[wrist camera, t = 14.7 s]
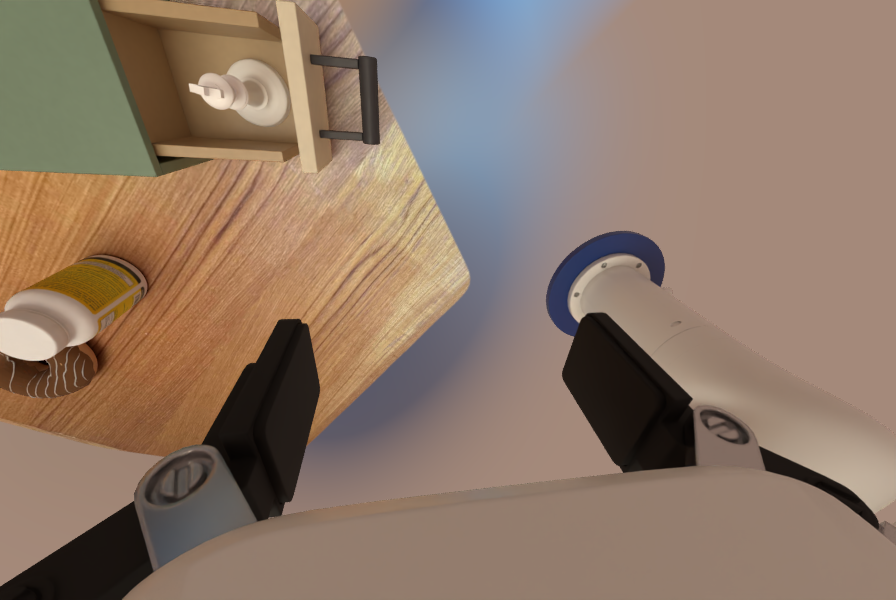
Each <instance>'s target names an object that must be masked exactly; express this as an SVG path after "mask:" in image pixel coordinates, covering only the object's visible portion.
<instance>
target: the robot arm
mask: <svg viewBox="0 0 896 600" xmlns="http://www.w3.org/2000/svg"><path fill="white" fill-rule="evenodd" d="M672 293H673V292H672V289H671V288H661V287H659V286H658V285H656V284H655V283H653V282H652V281H650V272H649V269H648V267H647V265H646V264H645V263H644V262H643V261H642V260H640V259H639V258H637V257H635V256H633V255H631V254H626V253H616V254H610V255H607V256H604V257H602V258H600V259H598V260H596V261H594V262H593V263H591V264H590V265H588V266H587V267H586V268H585V269H584V270H583V271H582V272H581V273H580V274H579V275H578V276H577V277H576V279H575V280H574V282H573V284H572V285H571V288H570V290H569V293H568V299H567V302H568V309H569V312H570V313H571V315H572V316H573V318H574V319H575V320H576V321H577V322H579V326H578V329H577V332H576V334H575V337H574V340H573V343H572V346H571V349H570V351H569V354H568V357H567V360H566V363H565V366H564V368H563V371H562V377H563V380H564V382H565V384H566V386H567V387H568V389H569V390H570V392H571V394H572V395H573V397H574V399H575V400H576V402H577V404H578V405H579V407H580V408H581V410H582V412H583V413H584V415H585V417H586V418H587V420H588V421H589V423H590V425H591V426H592V428H593V430H594V431H595V433H596V434H597V436H598V438H599V439H600V441H601V443H602V444H603V446H604V448H605V449H606V451H607V453H608V454H609V456H610V457H611V459H612V461H613V462H614V463H615V464H616V465H618V466H620V468H621V469H622V471H623V473H618V474H608V475H600V476H590V477H581V478H571V479H563V480H554V481H546V482H536V483H527V484H520V485H519V484H518V485H510V486H501V487H493V488H483V489H475V490H466V491H458V492H449V493H441V494H432V495H424V496H416V497H407V498H400V499H391V500H382V501H374V502H367V503H360V504H353V505H346V506H338V507H330V508H323V509H316V510H310V511H304V512H299V513H294V514H288V515H283V516H281V515H282V511H283V508H284V504H285V502H290V501H291V500H292V498H293V495H294V492H295V487H296V484H297V480H298V476H299V472H300V468H301V464H302V460H303V456H304V453H305V449H306V445H307V441H308V437H309V433H310V429H311V425H312V421H313V418H314V414H315V410H316V406H317V402H318V398H319V393H320V384H319V379H318V374H317V368H316V363H315V358H314V353H313V348H312V343H311V338H310V333H309V327H308V325H307V324H306V323H305V324H302V322H301V320H300V319H281V320H279V321H278V322H277V324H276V326H275V328H274V330H273V332H272V334H271V336H270V337H269V339H268V341H267V343H266V345H265V347H264V349H263V351H262V352H261V354H260V356H259V358H258V360H257V362H256V363H250V364H248V365H247V366H246V367H245V369H244V370H243V372H242V374H241V375H240V377H239V379H238V381H237V382H236V384H235V386H234V388H233V390H232V391H231V393H230V395H229V397H228V398H227V400H226V402H225V404H224V405H223V407H222V409H221V411H220V413H219V414H218V416H217V418H216V420H215V421H214V423H213V425H212V427H211V428H210V430H209V432H208V434H207V436H206V437H205V439H204V441H203V443H202V444H201V445H193V446H189V447H185V448H182V449H180V450H177V451H175V452H173V453H171V454H169V455H168V456H166V457H164V458H163V459H161V460H160V461H159V462H157V463H156V464H155V465H154V466H153V467H152V468H150V469H149V470H148V471H147V472H146V474H145V475H144V476H143V478H142V479H141V480H140V482H139V483H138V486H137V488H136V490H135V493H134V501H133V502H132V503H130V504H129V505H127V506H126V507H124V508H122V509H121V510H119V511H118V512H116V513H115V514H113V515H111V516H110V517H108V518H107V519H105V520H104V521H102V522H100V523H99V524H97V525H96V526H94V527H93V528H91V529H90V530H88V531H86V532H85V533H83V534H82V535H80V536H78V537H77V538H75V539H74V540H72V541H71V542H69V543H68V544H66V545H65V546H63V547H61V548H60V549H58V550H57V551H55V552H53V553H52V554H50V555H49V556H47V557H46V558H44V559H43V560H41V561H40V562H38V563H36V564H35V565H33V566H32V567H30V568H28V569H27V570H25V571H24V572H22V573H21V574H19V575H17V576H16V577H14V578H13V579H11V580H10V581H8V582H7V583H5V584H3V585H2V586H0V600H896V522H895V523H892V524H889V523H888V522H886V521H884V522H882V523H880V524H879V523H878V520H877V518H876V516H875V515H874V513H876V512H878V511H880V510H881V509H883V508H884V507H886V506H888V505H889V504H891V503H892V502H893V501H894V500H896V435H895V434H894V433H893V432H892V431H891V430H890V429H888V428H887V427H886V426H884V425H883V424H881V423H880V422H879V421H877V420H876V419H874V418H873V417H871V416H870V415H868V414H866V413H865V412H863V411H861V410H860V409H858V408H856V407H854V406H853V405H851V404H849V403H847V402H845V401H843V400H842V399H840V398H838V397H836V396H834V395H832V394H830V393H828V392H826V391H824V390H822V389H820V388H818V387H816V386H814V385H813V384H811V383H809V382H807V381H805V380H803V379H801V378H799V377H797V376H795V375H793V374H792V373H790V372H788V371H787V370H785V369H783V368H781V367H779V366H778V365H776V364H774V363H772V362H771V361H769V360H767V359H766V358H764V357H763V356H761V355H759V354H758V353H756V352H755V351H753V350H752V349H750V348H749V347H747V346H746V345H744V344H742V343H741V342H739V341H738V340H736V339H735V338H733V337H732V336H730V335H729V334H727V333H726V332H724V331H723V330H722V329H720V328H718V327H717V326H716V325H714V324H713V323H711V322H710V321H709V320H707V319H706V318H704V317H703V316H701V315H700V314H698V313H697V312H696V311H694V310H693V309H691V308H690V307H688V306H687V305H685V304H684V303H682V302H681V301H680V300H678V299H677V298H675V297H674V296H672ZM269 517H274V518H270V519H268V518H269Z"/></svg>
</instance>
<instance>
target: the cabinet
mask: <svg viewBox="0 0 896 600" xmlns="http://www.w3.org/2000/svg"><path fill="white" fill-rule="evenodd" d="M163 1H170V0H163ZM210 160H213V159H211V158H192V157H173V156H156V154H155V152H154V149H153V146H152V144H151V141H150V138H149V136H148V133H147V130H146V128H145V125H144V122H143V120H142V117H141V114H140V112H139V109H138V106H137V104H136V101H135V98H134V96H133V93H132V90H131V88H130V85H129V82H128V80H127V77H126V74H125V72H124V69H123V66H122V64H121V61H120V58H119V56H118V53H117V50H116V48H115V45H114V42H113V40H112V37H111V34H110V32H109V29H108V26H107V24H106V21H105V18H104V16H103V13H102V10H101V8H100V5H99V2H98V0H0V170H9V171H32V172H55V173H78V174H101V175H124V176H147V177H158V176H161V175H164V174H168V173H171V172H174V171H177V170H181V169H184V168H187V167H190V166H194V165H197V164H200V163H203V162H207V161H210Z"/></svg>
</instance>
